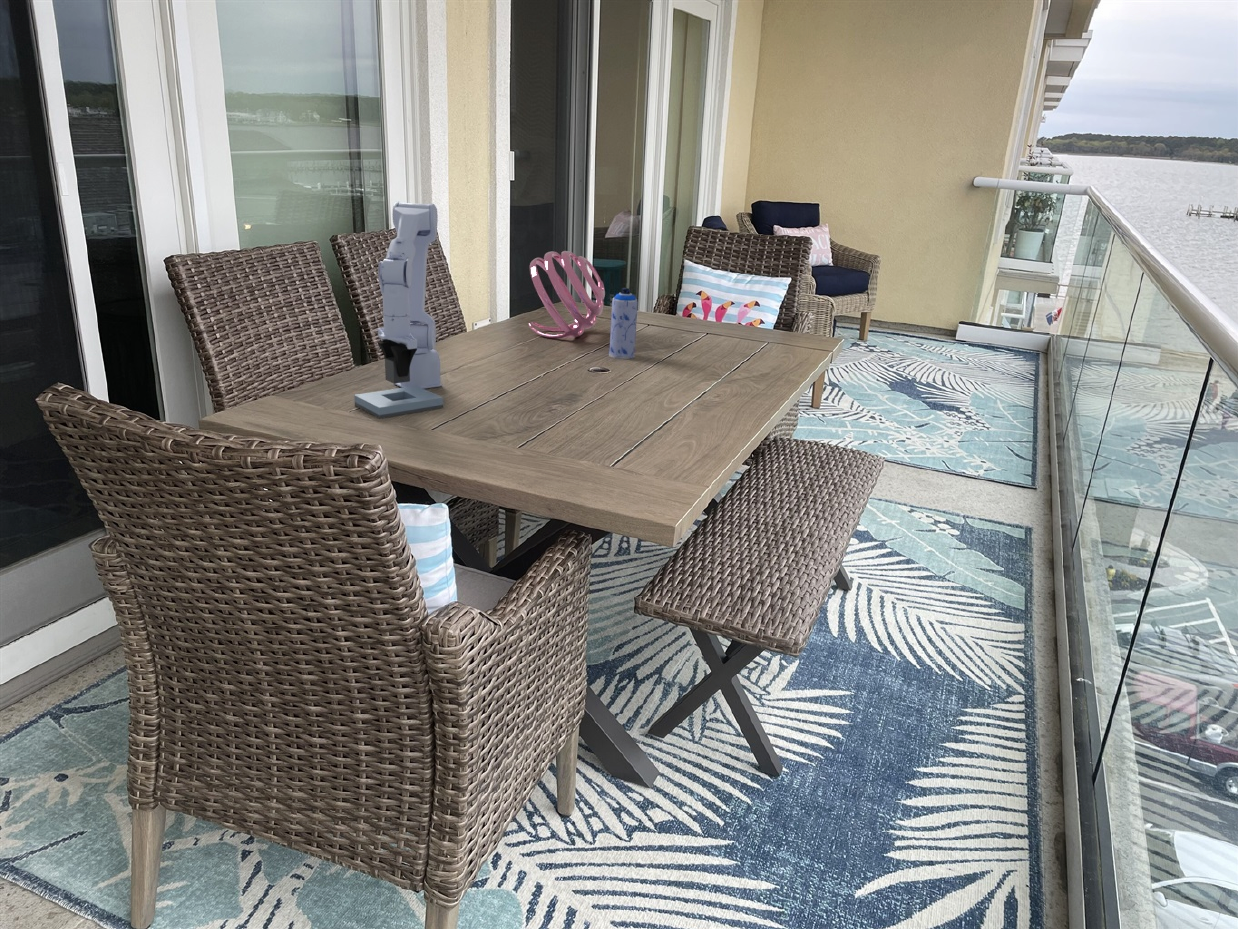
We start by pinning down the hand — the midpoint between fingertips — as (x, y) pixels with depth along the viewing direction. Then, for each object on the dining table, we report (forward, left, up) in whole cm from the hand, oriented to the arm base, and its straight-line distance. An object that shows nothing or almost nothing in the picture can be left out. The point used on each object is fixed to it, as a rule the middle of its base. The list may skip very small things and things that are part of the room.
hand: (398, 373), depth 204 cm
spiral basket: (-83, -44, -8) cm, 94 cm away
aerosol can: (-81, -14, -8) cm, 83 cm away
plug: (0, 0, -2) cm, 2 cm away
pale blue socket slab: (0, 0, -8) cm, 8 cm away
